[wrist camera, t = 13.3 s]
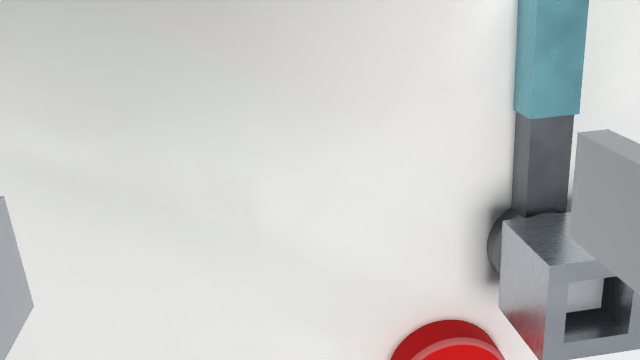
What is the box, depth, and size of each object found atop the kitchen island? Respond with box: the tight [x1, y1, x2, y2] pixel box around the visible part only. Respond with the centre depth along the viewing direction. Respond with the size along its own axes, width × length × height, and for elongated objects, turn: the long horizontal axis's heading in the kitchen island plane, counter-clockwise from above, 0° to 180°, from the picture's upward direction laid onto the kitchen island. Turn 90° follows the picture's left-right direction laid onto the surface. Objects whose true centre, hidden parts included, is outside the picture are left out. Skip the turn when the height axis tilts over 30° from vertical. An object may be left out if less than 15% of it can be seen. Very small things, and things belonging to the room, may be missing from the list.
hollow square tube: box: [499, 212, 640, 360], centre depth 43 cm, size 7×7×7 cm
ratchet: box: [487, 0, 604, 313], centre depth 43 cm, size 22×7×8 cm, turn 4°
